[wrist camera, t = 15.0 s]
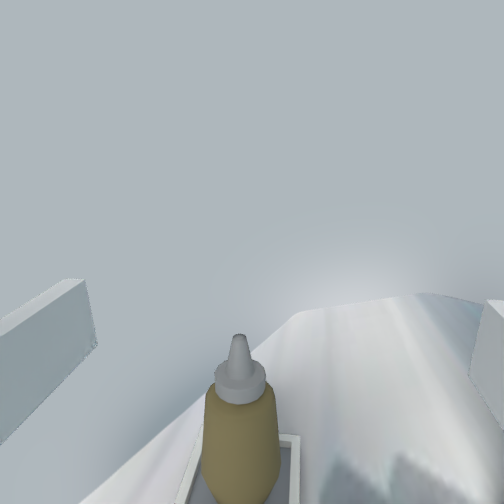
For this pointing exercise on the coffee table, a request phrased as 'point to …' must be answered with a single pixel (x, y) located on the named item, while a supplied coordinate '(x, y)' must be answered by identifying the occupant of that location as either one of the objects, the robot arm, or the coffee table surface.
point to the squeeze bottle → (240, 431)
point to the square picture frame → (282, 495)
